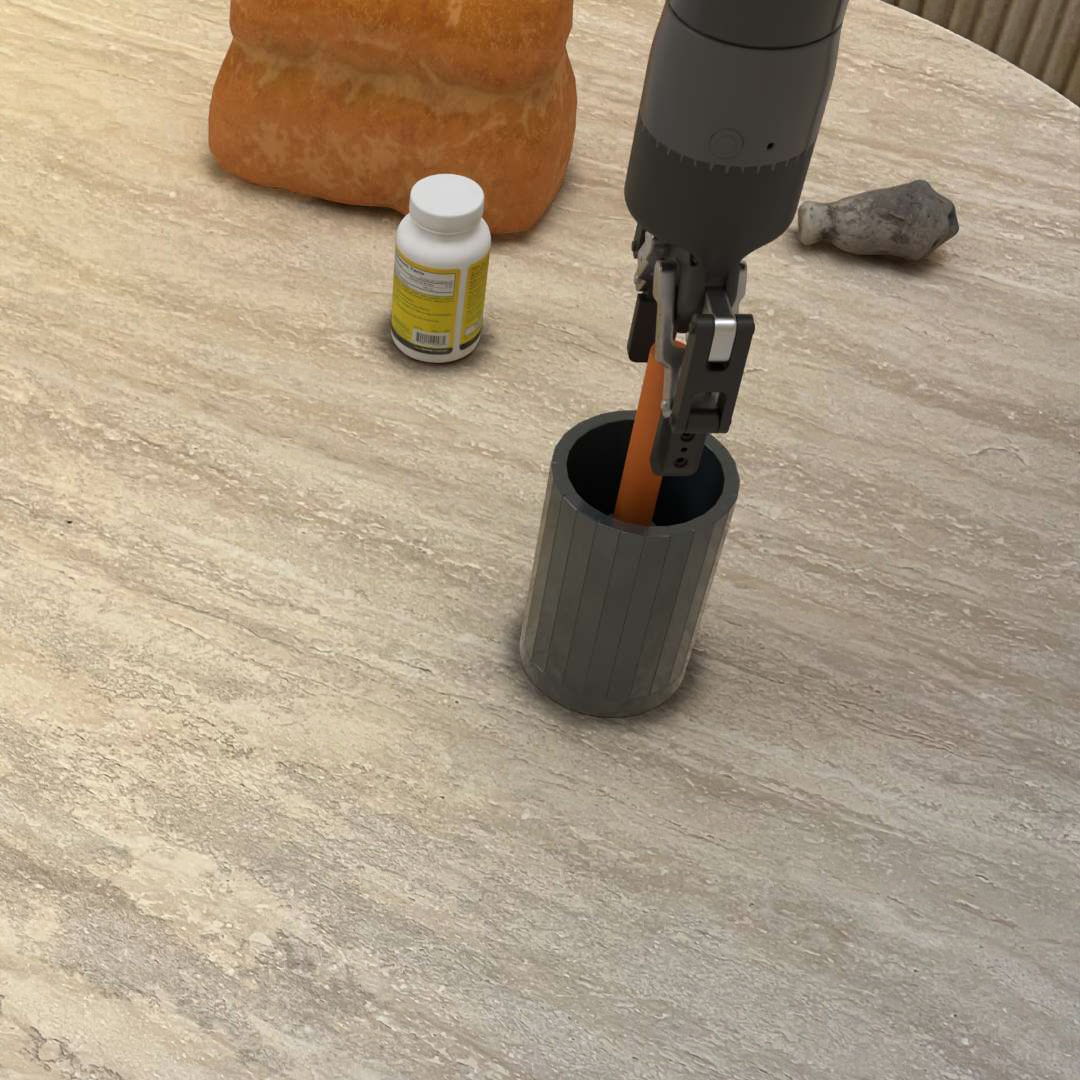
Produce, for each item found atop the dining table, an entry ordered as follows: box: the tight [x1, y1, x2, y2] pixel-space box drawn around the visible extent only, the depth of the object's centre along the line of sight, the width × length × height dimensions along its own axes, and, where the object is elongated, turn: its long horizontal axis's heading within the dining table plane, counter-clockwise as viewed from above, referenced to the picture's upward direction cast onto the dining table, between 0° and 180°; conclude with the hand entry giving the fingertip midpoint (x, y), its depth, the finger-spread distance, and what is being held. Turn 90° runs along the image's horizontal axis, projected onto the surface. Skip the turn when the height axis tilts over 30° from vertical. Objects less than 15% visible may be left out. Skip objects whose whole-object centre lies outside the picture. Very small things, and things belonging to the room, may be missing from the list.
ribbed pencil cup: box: [518, 409, 741, 718], centre depth 93 cm, size 10×10×14 cm
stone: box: [797, 178, 960, 262], centre depth 120 cm, size 10×5×8 cm
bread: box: [207, 0, 578, 236], centre depth 122 cm, size 16×26×17 cm, turn 70°
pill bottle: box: [390, 174, 492, 364], centre depth 111 cm, size 6×6×11 cm
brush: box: [608, 339, 687, 526], centre depth 89 cm, size 4×4×20 cm
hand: (659, 412), depth 84 cm, fingers open, 8 cm apart
